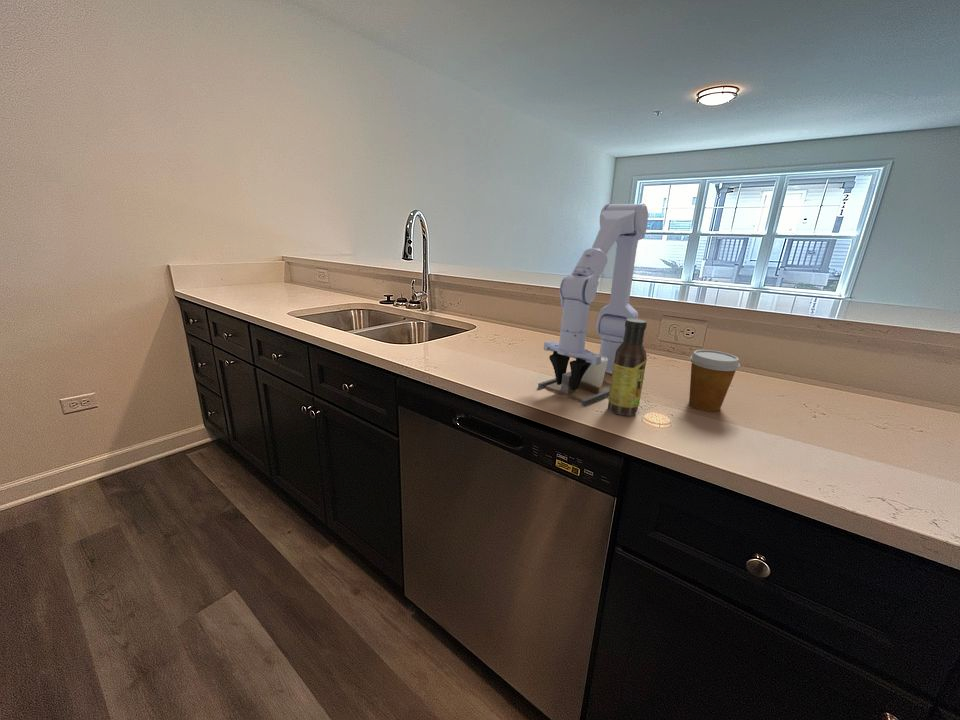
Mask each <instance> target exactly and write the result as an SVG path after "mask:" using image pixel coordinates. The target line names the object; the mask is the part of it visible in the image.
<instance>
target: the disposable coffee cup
mask: <svg viewBox="0 0 960 720" xmlns="http://www.w3.org/2000/svg"><path fill="white" fill-rule="evenodd" d="M689 358H690V359H689V360H690V362H691V368H690V380H689V381H690V383H689V397H688V398H689V399H688V404H689V405H690V406H691V407H693V408H695V409H697V410H700V411H706V412H719V411H720V410H721V408H722V406H723V402H724V400H725V398H726V395H727V393H728V391H729V387H730V386H731V385H732V381H733V378H734V376H735V373H736V371H737V370H738V368H740V366H741V364H740V362H739V361H740V359H739V357H737V356H736V355H734V354H731V353H728V352H723V351H719V350H713V349H712V350H711V349H697V350H694V351H693V353H692V355H690V357H689Z"/></svg>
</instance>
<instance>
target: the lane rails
mask: <svg viewBox="0 0 960 720" xmlns="http://www.w3.org/2000/svg"><path fill="white" fill-rule="evenodd" d="M553 383H556V377H553V378H550V379H548V380H545V381H542V382H538V383H537V388H538V389H540V390H541V389H544V388H545V389H546V386H547V385H550V384H553ZM609 392H610V389H609V390H606V391H604V392H601V393H599V394H596V395H594V396H591V397H589V398H586V399H584V400H582V401H581V402H580V406H581V407H586V406H589V405H591V404H593V403H596V402H598V401H600V400H603V399H605V398H609Z"/></svg>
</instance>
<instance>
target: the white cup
mask: <svg viewBox="0 0 960 720" xmlns="http://www.w3.org/2000/svg"><path fill="white" fill-rule="evenodd" d="M596 354H597V355H599V354H600V353H599V354H598V353H596ZM600 356H602V357H601V364H599V365H596V366H595V365H592V364H591V365H590V366H589V368H588V369H587V371H586V372H585V374H584V376H583V378H582V380H581V381H583V382H586V383H588V384H591V385H594V386H597V387H601V386H602V383H603V381H604V378H605V374H606V372H605V370H606V366H607V362H608V358H607V357H605V356H603V355H600Z"/></svg>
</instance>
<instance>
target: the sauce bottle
mask: <svg viewBox="0 0 960 720" xmlns="http://www.w3.org/2000/svg"><path fill="white" fill-rule="evenodd" d="M647 323H648V322H647V321H646V320H643V319H639V318H638V319H627V320H626V322H625V335H624V338H623V343H622V344H621V345H620V346H619V348H618V349H617V350H616V355H615V361H614V365H613V372H612V374H611V379H610V383H611V385H610V392H609V396H608V404H607V409H608V410H609V411H610V412H611V413H612V414H615V415H616V414H617V415H621V416H632V415H633V416H634V415H635V414H637V412H638V409H639V405H640V402H641V396H642V391H643V384H644V378H645V370H646V364H647V361H648V360H647V358H648V357H647V352H646V350H645V347H644V344H643V342H644V338H645V337H644V336H645V331H646V328H647Z"/></svg>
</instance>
